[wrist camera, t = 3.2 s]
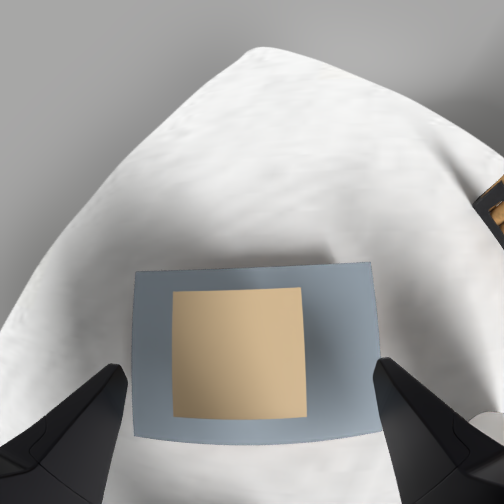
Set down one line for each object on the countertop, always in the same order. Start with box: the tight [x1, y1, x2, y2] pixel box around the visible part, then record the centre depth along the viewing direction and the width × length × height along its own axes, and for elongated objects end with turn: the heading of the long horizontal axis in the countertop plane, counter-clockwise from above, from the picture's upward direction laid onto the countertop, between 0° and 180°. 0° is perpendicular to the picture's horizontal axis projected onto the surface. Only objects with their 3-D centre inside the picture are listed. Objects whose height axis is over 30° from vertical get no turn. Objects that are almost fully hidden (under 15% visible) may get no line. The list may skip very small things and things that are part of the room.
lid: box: [132, 262, 382, 445], centre depth 11 cm, size 10×14×10 cm
